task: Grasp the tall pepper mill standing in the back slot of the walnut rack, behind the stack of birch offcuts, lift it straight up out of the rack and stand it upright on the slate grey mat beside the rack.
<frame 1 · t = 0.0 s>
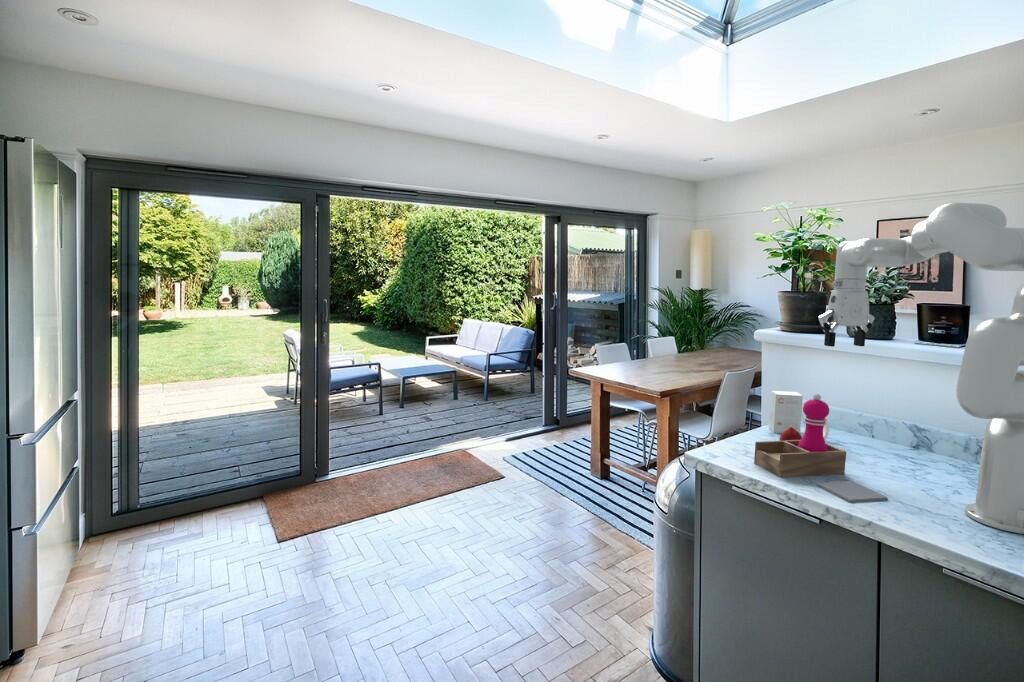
hand: (844, 345, 148), 31 cm above the counter, tool pointing down, fingers open, 9 cm apart
rack: (798, 468, 137), on the counter
pepper mill: (810, 468, 138), on the counter
small box: (783, 431, 173), on the counter
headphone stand: (813, 447, 156), on the counter
lower offcut: (781, 471, 137), on the counter, touching upper offcut
mat: (850, 492, 122), on the counter
upper offcut: (781, 464, 136), point 1 cm above the counter, touching lower offcut
onion: (789, 453, 150), on the counter
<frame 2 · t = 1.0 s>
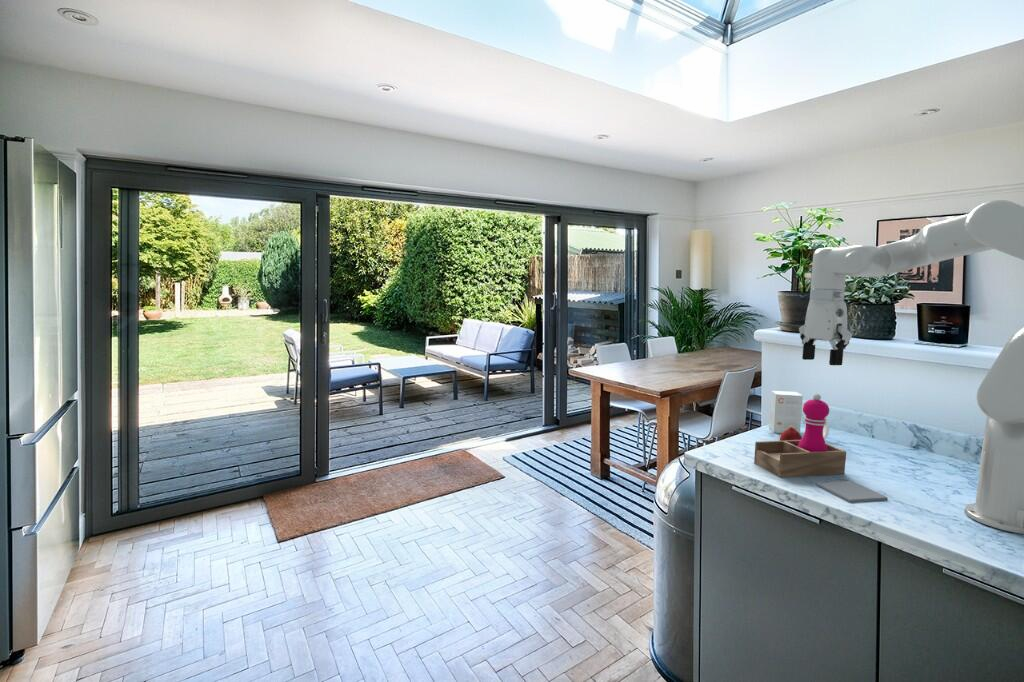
hand: (821, 362, 136), 28 cm above the counter, tool pointing down, fingers open, 9 cm apart
lower offcut: (781, 471, 137), on the counter
upper offcut: (781, 464, 137), point 1 cm above the counter
everything else where it was.
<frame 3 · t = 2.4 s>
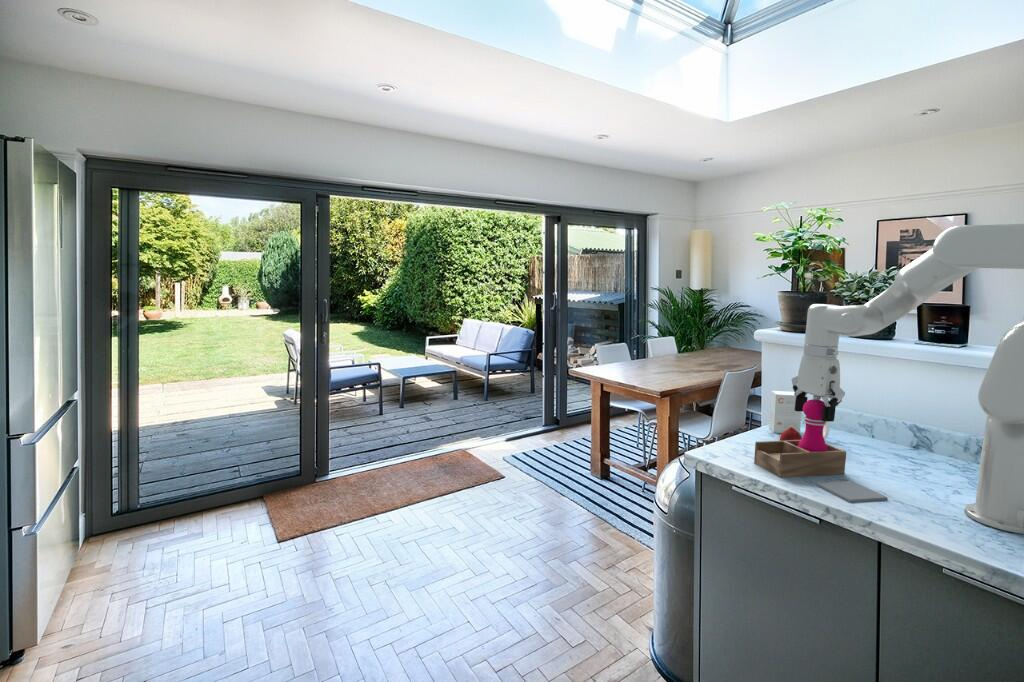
hand: (813, 416, 137), 14 cm above the counter, tool pointing down, fingers open, 9 cm apart
lower offcut: (781, 471, 137), on the counter, touching upper offcut
upper offcut: (781, 464, 136), point 1 cm above the counter, touching lower offcut
everything else where it was.
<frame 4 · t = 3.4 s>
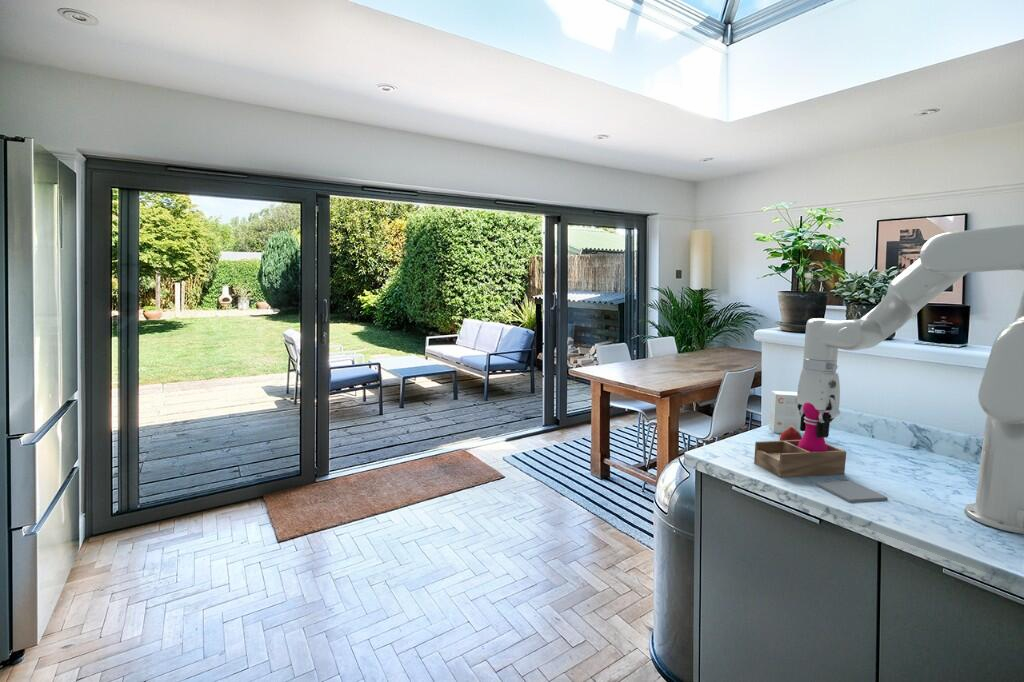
hand: (813, 433, 137), 9 cm above the counter, tool pointing down, fingers closed on pepper mill, 5 cm apart
pepper mill: (810, 468, 138), on the counter, touching gripper
everything else where it was.
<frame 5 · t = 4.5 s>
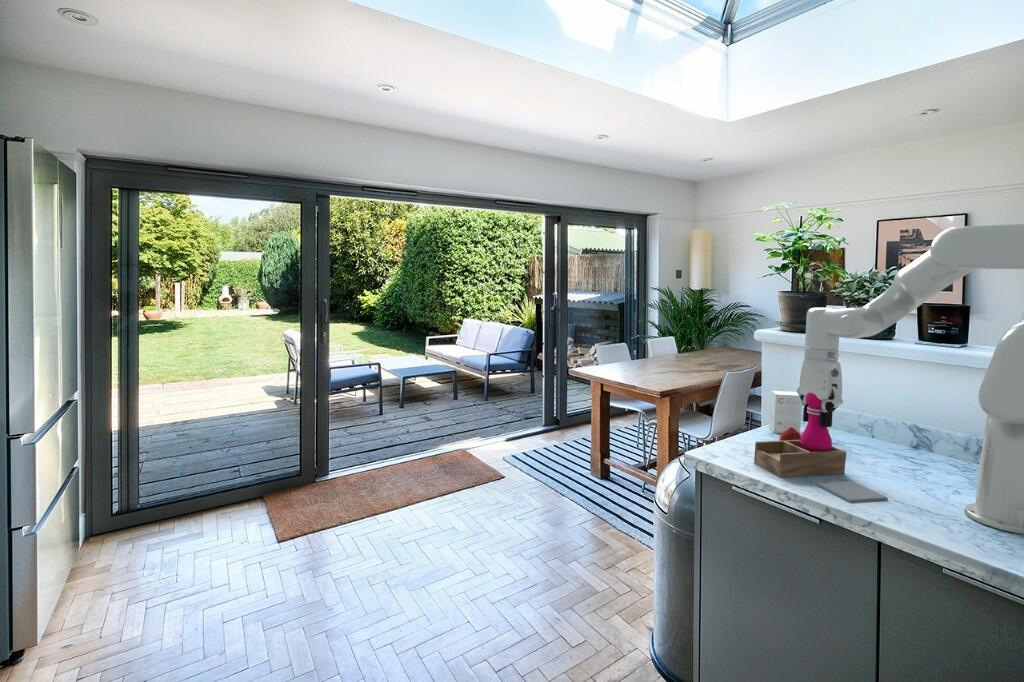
hand: (817, 423, 136), 12 cm above the counter, tool pointing down, fingers closed on pepper mill, 5 cm apart
pepper mill: (814, 459, 137), point 3 cm above the counter, touching gripper
everything else where it was.
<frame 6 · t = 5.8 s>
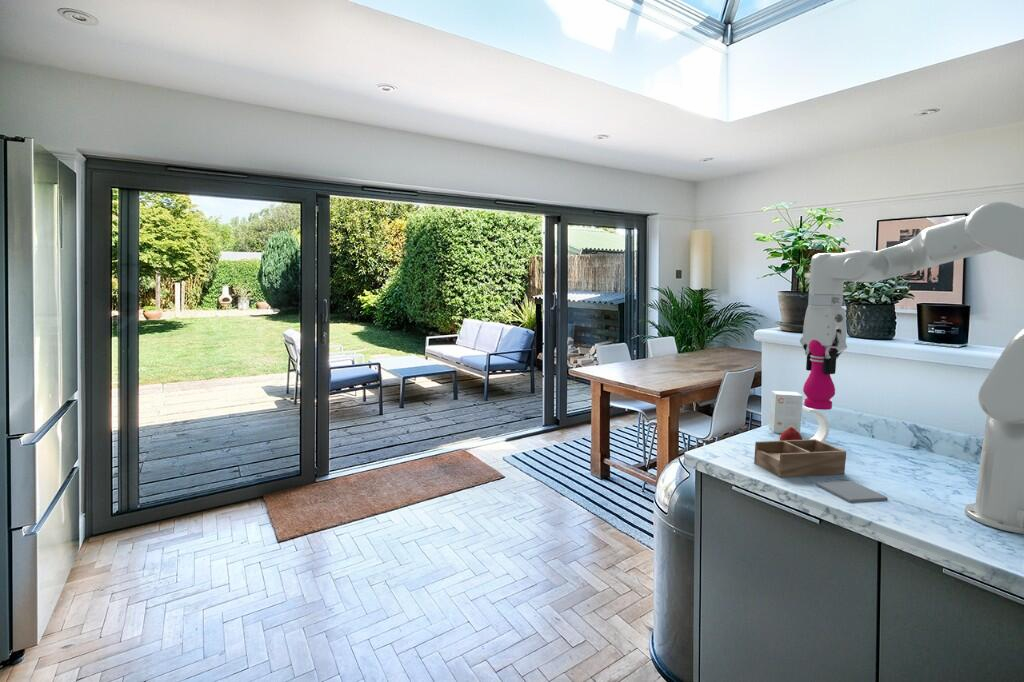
hand: (820, 371, 135), 26 cm above the counter, tool pointing down, fingers closed on pepper mill, 5 cm apart
pepper mill: (817, 407, 136), point 16 cm above the counter, touching gripper
everything else where it was.
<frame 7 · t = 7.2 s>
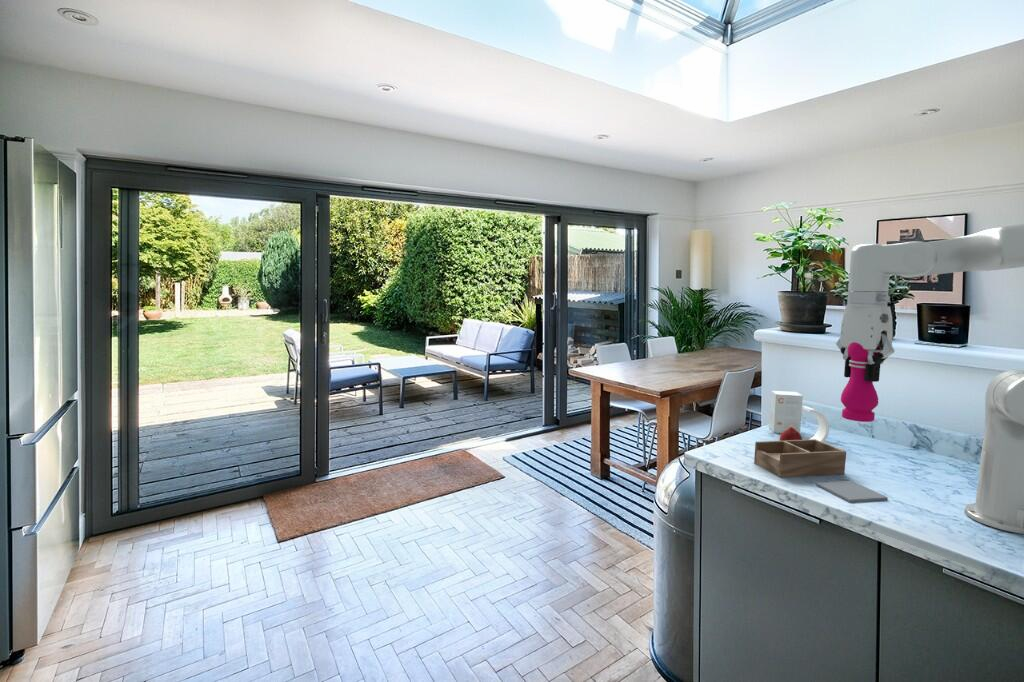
hand: (861, 378, 119), 27 cm above the counter, tool pointing down, fingers closed on pepper mill, 5 cm apart
pepper mill: (857, 419, 120), point 17 cm above the counter, touching gripper
everything else where it was.
when the fingers open (11 cm above the counter, at t = 11.1 s): pepper mill drops 1 cm, resting on mat.
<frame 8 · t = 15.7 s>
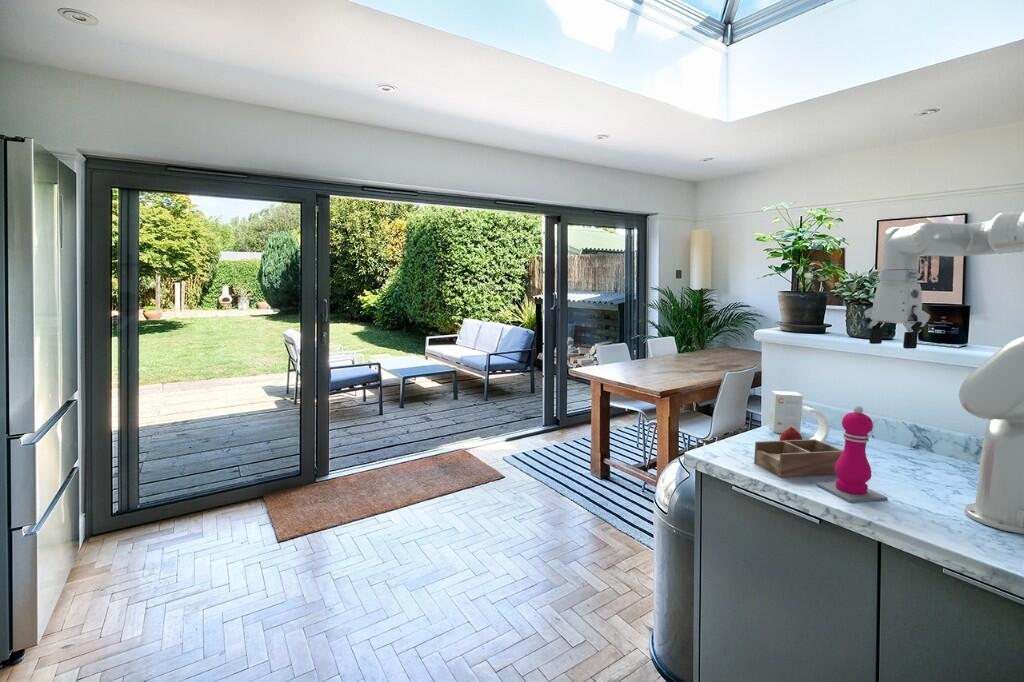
hand: (891, 345, 131), 33 cm above the counter, tool pointing down, fingers open, 9 cm apart
pepper mill: (851, 490, 122), resting on mat
everything else where it was.
at the end: pepper mill 0.1 cm off-centre on the mat, point 0.4 cm above the mat's base; pepper mill tilted 0°; the gripper is holding nothing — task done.
